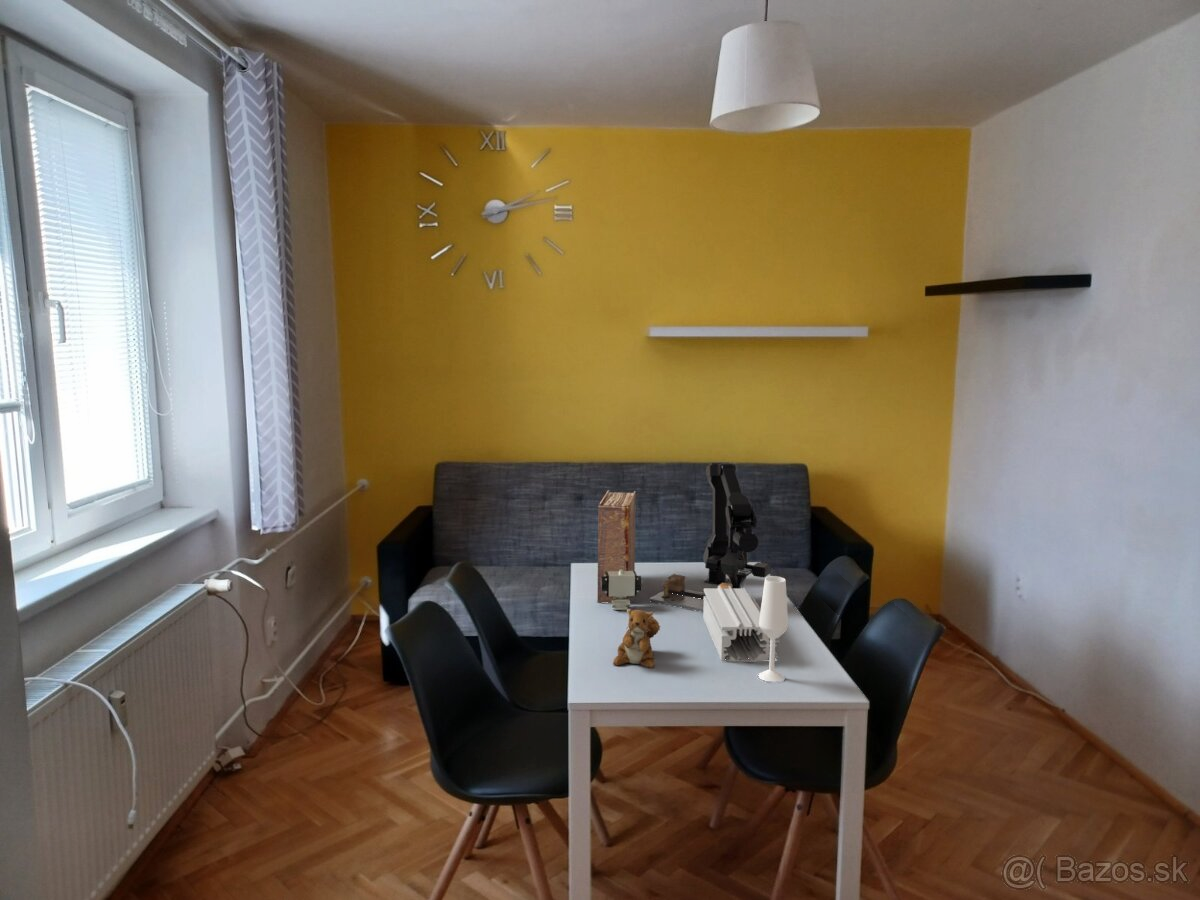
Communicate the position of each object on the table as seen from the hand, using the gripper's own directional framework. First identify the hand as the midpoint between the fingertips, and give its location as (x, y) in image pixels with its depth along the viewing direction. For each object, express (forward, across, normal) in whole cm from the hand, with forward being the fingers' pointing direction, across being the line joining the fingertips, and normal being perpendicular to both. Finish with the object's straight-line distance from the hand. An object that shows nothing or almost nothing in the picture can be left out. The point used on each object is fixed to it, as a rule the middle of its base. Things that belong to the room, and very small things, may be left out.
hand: (736, 593), depth 238 cm
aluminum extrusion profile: (+4, +10, -25) cm, 28 cm away
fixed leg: (+2, -20, -3) cm, 20 cm away
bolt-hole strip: (+3, -12, -8) cm, 14 cm away
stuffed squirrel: (+4, -6, -51) cm, 52 cm away
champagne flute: (+4, +26, -45) cm, 52 cm away
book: (+4, -37, -7) cm, 38 cm away
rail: (+3, -9, 0) cm, 10 cm away
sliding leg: (+2, -3, -3) cm, 5 cm away
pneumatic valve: (+4, -28, -22) cm, 35 cm away
